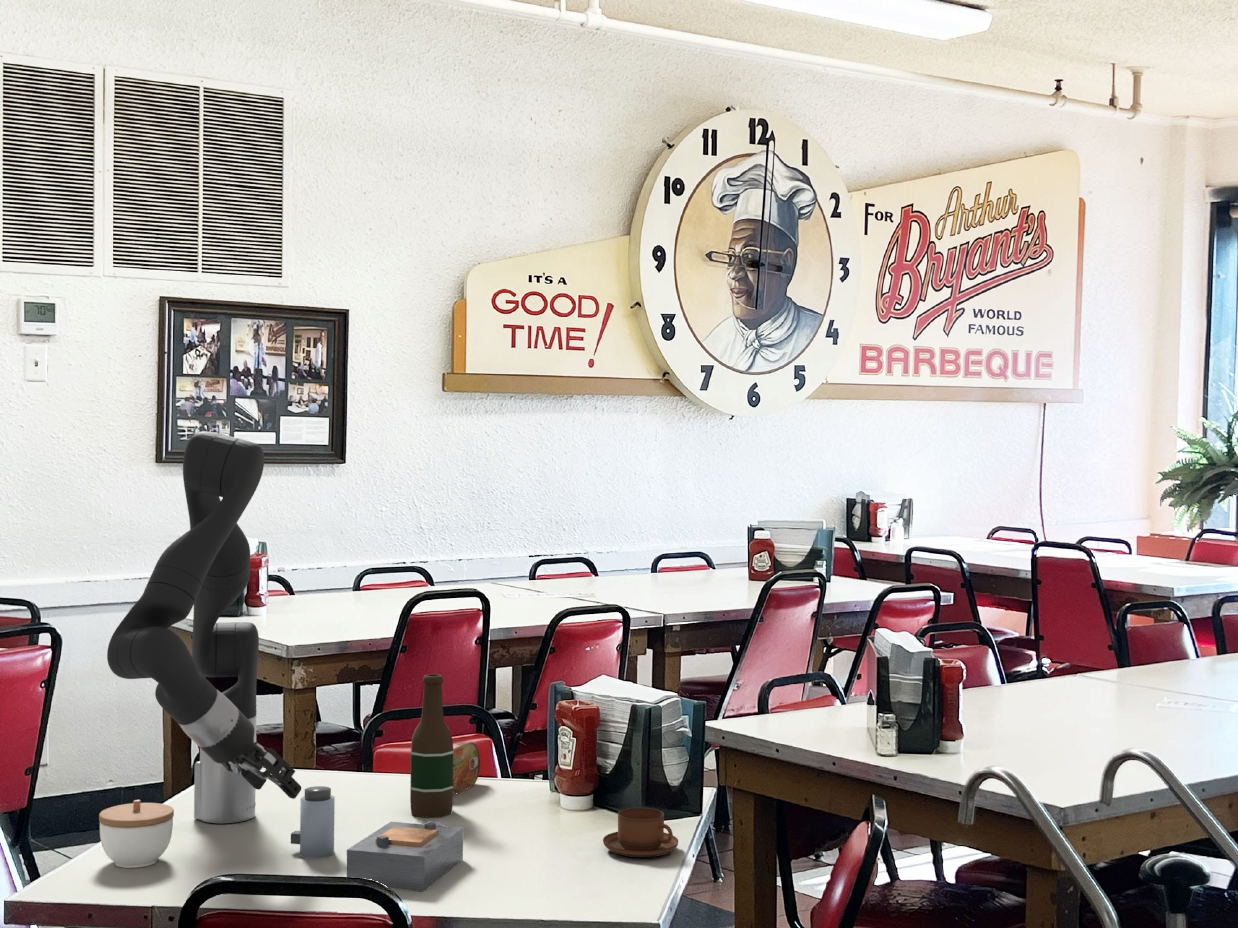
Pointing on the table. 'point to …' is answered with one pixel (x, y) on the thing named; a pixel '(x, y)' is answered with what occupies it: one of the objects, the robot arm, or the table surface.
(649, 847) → the cup and saucer
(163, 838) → the lidded jar
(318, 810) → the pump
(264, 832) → the table surface
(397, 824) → the grey block with pad
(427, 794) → the beer bottle
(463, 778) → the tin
